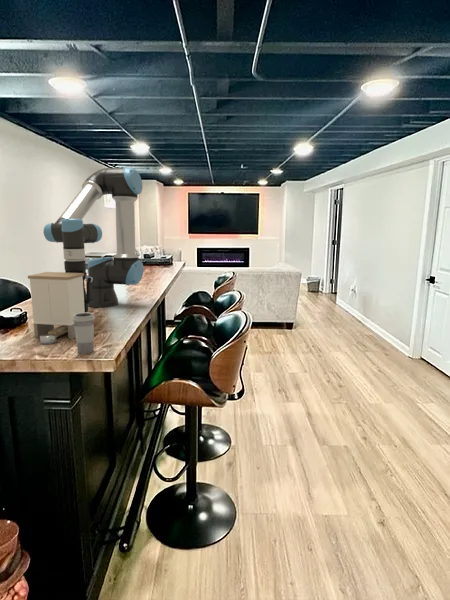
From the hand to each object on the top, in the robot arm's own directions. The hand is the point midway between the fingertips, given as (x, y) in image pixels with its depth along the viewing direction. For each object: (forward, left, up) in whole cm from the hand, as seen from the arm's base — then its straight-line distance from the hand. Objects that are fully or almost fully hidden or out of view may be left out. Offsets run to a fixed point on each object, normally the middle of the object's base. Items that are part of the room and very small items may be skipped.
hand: (78, 319), depth 151 cm
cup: (+27, +17, -3) cm, 32 cm away
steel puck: (+20, 0, -3) cm, 21 cm away
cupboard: (+11, -1, -3) cm, 11 cm away
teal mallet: (+8, 0, -2) cm, 8 cm away
